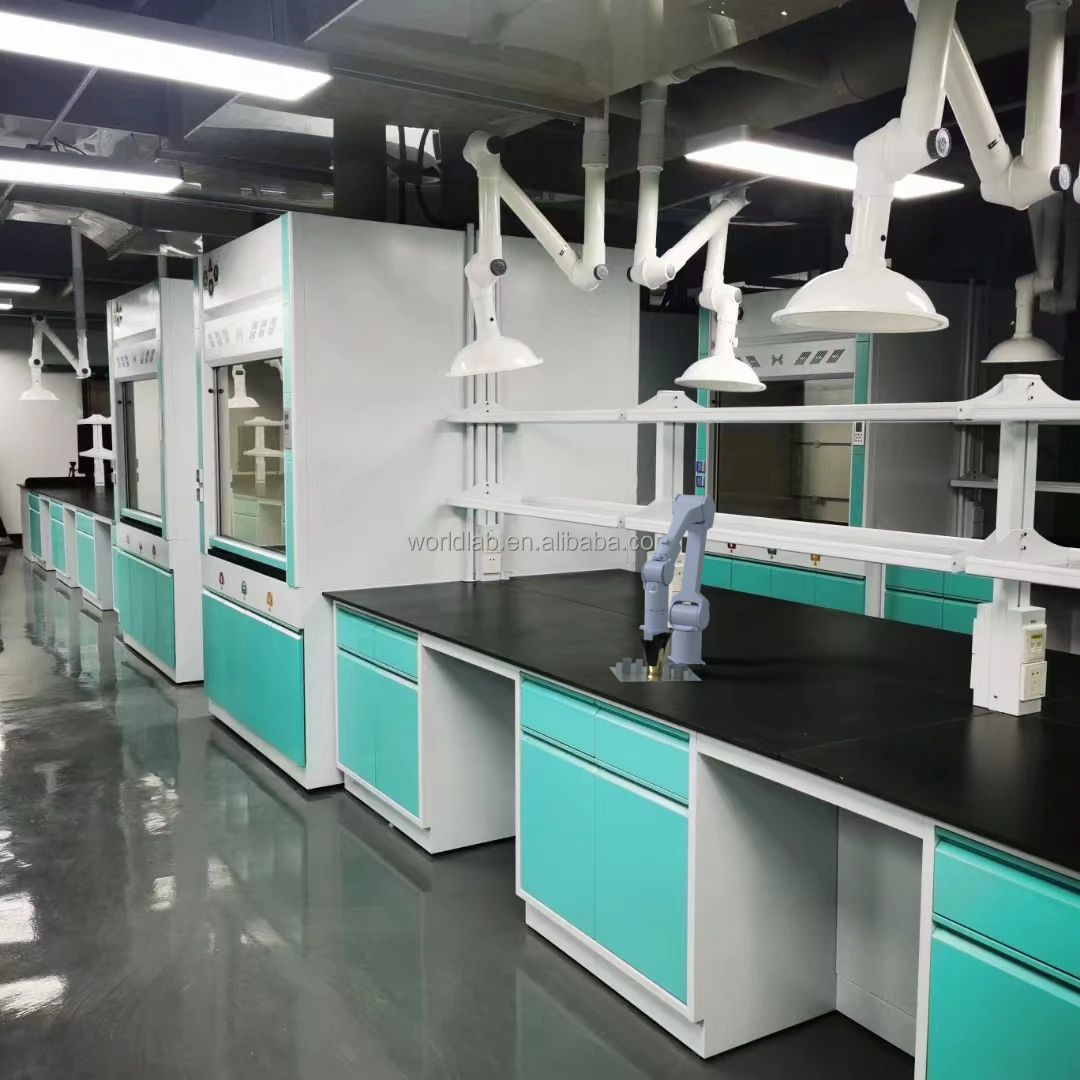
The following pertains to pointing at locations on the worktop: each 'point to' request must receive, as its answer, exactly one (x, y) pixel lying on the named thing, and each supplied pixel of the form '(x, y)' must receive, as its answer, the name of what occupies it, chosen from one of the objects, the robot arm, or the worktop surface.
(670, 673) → the shaft rig
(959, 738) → the worktop surface
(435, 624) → the worktop surface
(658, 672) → the cylinder
